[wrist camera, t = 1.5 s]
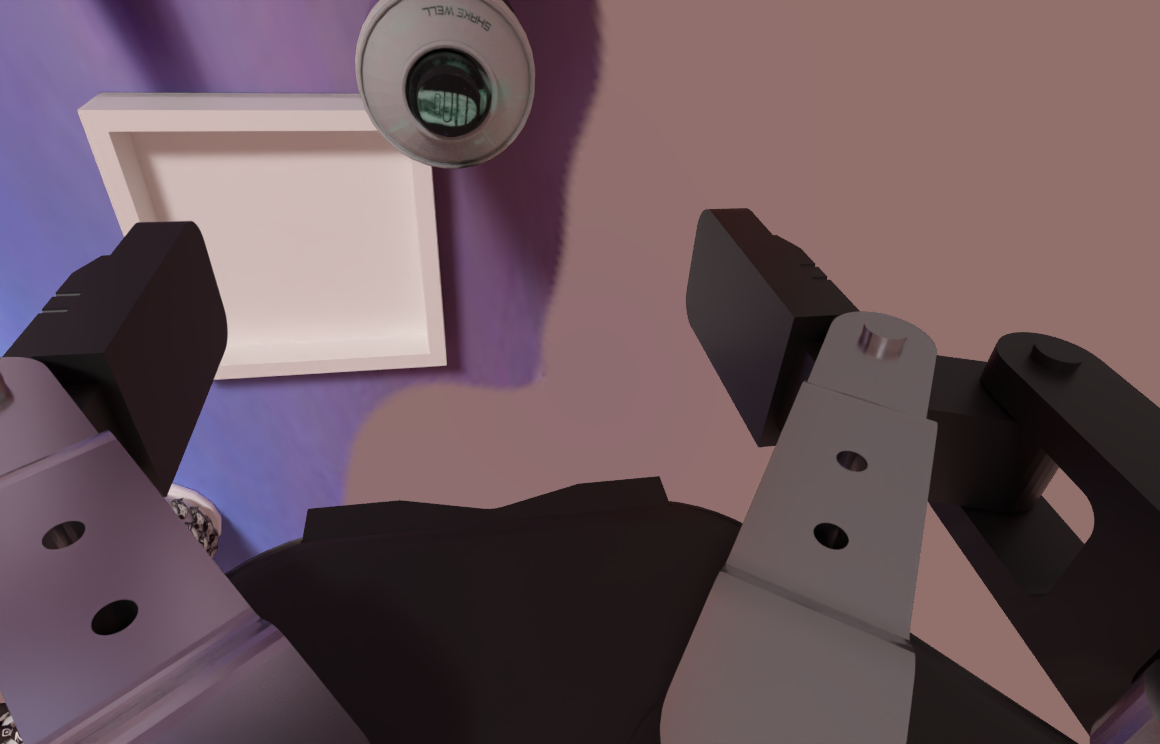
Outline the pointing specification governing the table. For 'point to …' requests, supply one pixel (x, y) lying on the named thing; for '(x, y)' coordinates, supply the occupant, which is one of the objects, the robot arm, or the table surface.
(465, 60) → the spray can
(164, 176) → the tray
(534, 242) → the table surface
